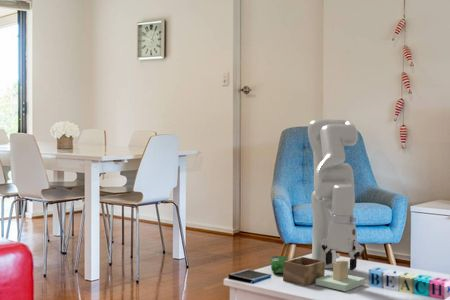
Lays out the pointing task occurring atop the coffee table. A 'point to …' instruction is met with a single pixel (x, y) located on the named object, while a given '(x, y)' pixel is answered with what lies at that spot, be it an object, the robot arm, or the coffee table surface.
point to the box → (303, 270)
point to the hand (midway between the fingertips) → (340, 266)
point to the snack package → (278, 263)
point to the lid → (340, 278)
